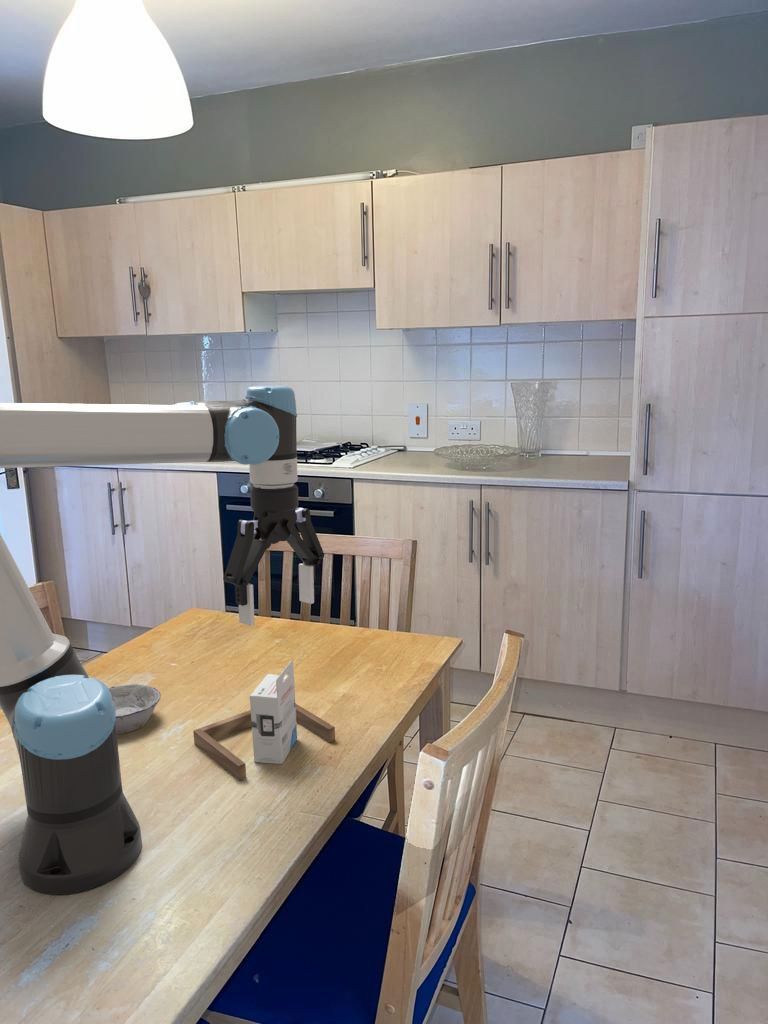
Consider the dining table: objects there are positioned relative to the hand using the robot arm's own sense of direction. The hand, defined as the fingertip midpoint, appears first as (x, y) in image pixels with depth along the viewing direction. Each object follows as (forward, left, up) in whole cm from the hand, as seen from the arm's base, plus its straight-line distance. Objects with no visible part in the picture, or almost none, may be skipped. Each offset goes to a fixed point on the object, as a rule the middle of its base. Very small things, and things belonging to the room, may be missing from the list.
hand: (278, 612), depth 128 cm
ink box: (-3, -2, -23) cm, 23 cm away
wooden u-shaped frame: (-3, +1, -23) cm, 23 cm away
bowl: (-18, +25, -23) cm, 39 cm away
